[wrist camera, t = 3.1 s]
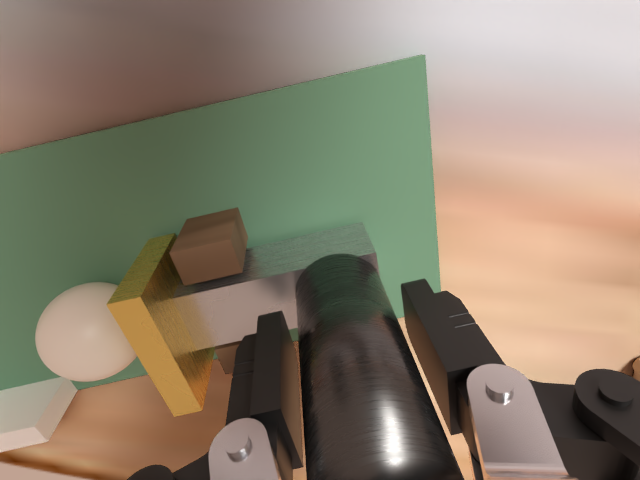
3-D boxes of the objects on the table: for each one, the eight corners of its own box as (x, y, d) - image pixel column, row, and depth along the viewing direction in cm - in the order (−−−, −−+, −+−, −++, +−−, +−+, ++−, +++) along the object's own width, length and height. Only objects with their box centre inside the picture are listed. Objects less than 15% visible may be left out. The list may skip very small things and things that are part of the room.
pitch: (-200, 200, 13) (-213, 205, 13) (421, 54, 13) (425, 55, 13) (-9, 403, 18) (-15, 410, 18) (438, 302, 18) (441, 308, 18)
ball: (48, 275, 15) (-14, 339, 12) (136, 255, 15) (98, 313, 12) (92, 342, 17) (49, 413, 14) (172, 324, 17) (147, 391, 13)
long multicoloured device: (357, 191, 14) (465, 405, 6) (375, 296, 17) (469, 555, 8) (148, 239, 14) (-32, 515, 6) (196, 336, 17) (114, 631, 8)
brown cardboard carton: (186, 219, 14) (169, 253, 12) (237, 207, 14) (230, 239, 12) (232, 329, 17) (225, 374, 15) (276, 319, 17) (275, 362, 15)
